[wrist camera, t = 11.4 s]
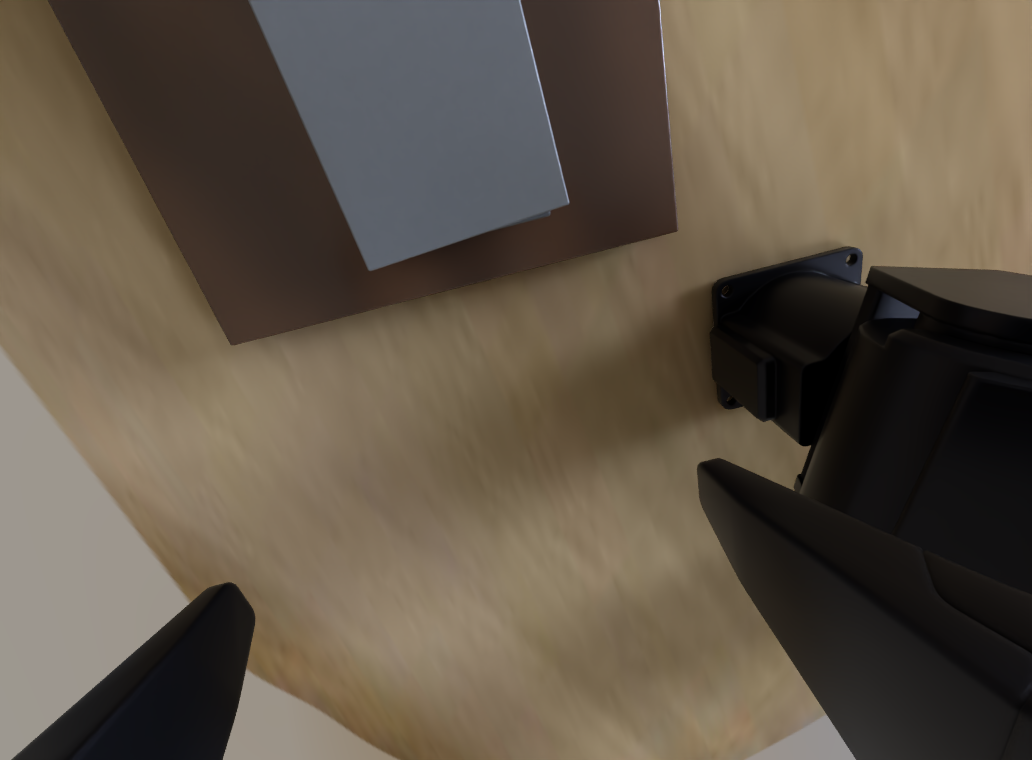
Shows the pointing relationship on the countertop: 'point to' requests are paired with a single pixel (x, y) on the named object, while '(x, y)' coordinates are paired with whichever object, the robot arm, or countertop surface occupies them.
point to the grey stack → (419, 116)
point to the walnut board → (304, 185)
